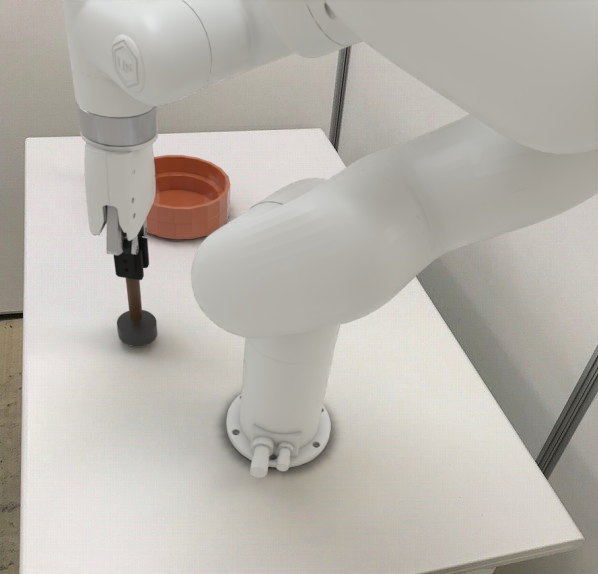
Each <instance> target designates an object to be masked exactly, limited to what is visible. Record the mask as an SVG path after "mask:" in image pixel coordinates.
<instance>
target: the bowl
mask: <svg viewBox="0 0 598 574" xmlns="http://www.w3.org/2000/svg"><path fill="white" fill-rule="evenodd" d="M154 164H155V181H156V191H155V199H154V202H153V204H152V207H151V209H150V211H149V213H148V215H147V234H148V233H149V234H151V235H154V236H155V237H156V236H157V237H159V238H166V239H171V240H172V239H173V240H193V239H197V238H201V237H208V236H209V235H210V234H212V233H213V232H214V231H216V230H217V229H219V228H220V227H222V226H224V225H225V224H227V223H228V219H229V216H230V211H231V209H230V206H231V205H230V204H231V202H230V201H231V182H230V177H229V175H228V174H227V173H226V172H225V171H224V169H223V168H222V167H220V166H219V165H217V164H215V163H213V162H212V161H209V160H206V159H203V158H201V157H196V156H190V155H184V154H164V155H157V156H154Z"/></svg>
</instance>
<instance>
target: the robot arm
mask: <svg viewBox="0 0 598 574" xmlns="http://www.w3.org/2000/svg"><path fill="white" fill-rule="evenodd" d="M61 7H62V14H63V21H64V27H65V34H66V42H67V49H68V56H69V63H70V69H71V70H70V71H71V76H72V77H71V78H72V84H73V85H72V86H73V91H74V98H75V104H76V111H77V117H78V118H77V119H78V125H79V134H80V137H81V140H83V141H84V142H85V144H84V158H83V159H84V187H85V198H86V199H85V201H86V209H87V218H88V227H89V232H90V233H91V235H92V236H100V235H101V234H102V232H103V231H104V228H105V227H106V250H105V251H106V255H112V256H113V262H114V270H115V276H117V277H118V278H122V279H126V278H129V279H136V280H140V281H142V280H143V279H144V276H145V273H144V269H148V267H150V266H149V265H150V257H149V255H150V254H149V243H148V242H149V241H148V237H147V234H148V232H147V215H148V213H149V211H150V209H151V207H152V204H153V202H154V199H155V191H156V181H155V164H154V157H155V155H154V146H153V144H154V143H156V141H157V140H158V138H159V127H158V125H159V124H158V108H157V107H162V106H163V107H164V106H168V105H170V104H173V103H175V102H178V101H180V100H182V99H185V98H187V97H190V96H191V95H194V94H196V93H199V92H201V91H204V90H206V89H208V88H209V87H213V86H215V85H218V84H219V83H222V82H225V81H228V80H230V79H233V78H235V77H237V76H240V75H242V74H244V73H247V72H249V71H253V70H255V69H257V68H260V67H262V66H265V65H268V64H271V63H274V62H276V61H278V60H282V59H284V58H287V57H289V56H290V57H291V56H293V55H298V56H300V57H303V58H306V59H318V58H322V57H324V56H326V55H329V54H333V53H334V52H337V51H341V50H343V49H347V48H348V47H349V48H350V47H352V46H354V45H357V44H360V43H365V44H366V45H367V46H369V47H370V48H372V49H373V50H374V51H376V53H378V54H380V55H381V56H382V57H384V58H385V59H387V60H388V61H389V62H391V63H392V64H394V66H396V67H398V68H399V69H401V70H402V71H404V72H405V73H407V74H408V75H410V76H411V77H413V78H414V79H416V80H418V81H419V82H420V83H422V84H424V85H425V86H426V87H428V88H430V89H431V90H432V91H434V92H436V93H437V94H438V95H440V96H442V97H444V98H445V99H446V100H448V101H449V102H451V103H453V104H454V105H455V106H457V107H458V108H460V109H461V110H463V111H465V112H466V113H468V114H467V115H465V116H463V117H461V118H459V119H457V120H455V121H452V122H449V123H447V124H445V125H442V126H440V127H437V128H435V129H433V130H430V131H428V132H425V133H423V134H420V135H418V136H416V137H413V138H411V139H408V140H405V141H402V142H400V143H397V144H394V145H391V146H388V147H385V148H381V149H379V150H376V151H373V152H371V153H369V154H367V155H364V156H362V157H361V158H358V159H357V160H355V161H354V162H352V163H351V164H349V165H347V166H346V167H344V168H343V169H341V170H340V171H338V172H337V173H335V174H334V175H332V176H331V177H329V178H323V177H309V178H304V179H299V180H297V181H294V182H291V183H289V184H287V185H284V186H283V187H281V188H278V190H276V191H274V192H273V193H271V194H270V195H268V196H266V197H265V198H263V199H261V200H260V201H259V202H257V203H256V204H254V205H252V206H251V207H250V208H249V209H247V210H246V211H244V212H243V213H241V214H239V215H238V216H236V217H235V218H233V219H232V220H230V221H229V222H226V223H225V224H224V225H223V226H222V227H220V228H219V229H217V230H216V231H214V232H213V233H211V234H209V235H207V236H206V237H205V239H204V240H203V241H202V242H201V243H200V245H199V246H198V248H197V250H196V252H195V254H194V256H193V258H192V262H191V269H190V283H191V284H190V285H191V289H192V293H193V296H194V299H195V301H196V304H197V305H198V307H199V308H200V310H201V311H202V312H203V314H204V315H205V316H206V317H207V318H208V319H209V321H211V322H212V323H213V324H214V325H216V326H217V327H219V328H220V329H222V330H223V331H226V332H227V333H228V334H229V333H230V334H232V335H234V336H237V337H241V338H244V349H243V350H244V351H243V364H242V365H243V366H242V377H241V378H242V380H241V392H240V393H239V394H238V395H237V396H236V397H235V398H234V400H232V402H231V404H230V406H229V408H228V410H227V413H226V422H225V426H226V433H227V436H228V439H229V441H230V443H231V444H232V446H233V447H234V448H235V450H237V451H238V452H239V454H240V455H242V456H243V457H245V458H247V459H248V460H249V461H250V468H249V474H250V476H252V477H254V478H256V479H264V478H266V477H267V476H268V472H269V468H275V469H276V470H278V471H279V472H287V471H288V470H290V469H289V468H294V467H299V466H302V465H304V464H307V463H309V462H311V461H312V460H314V459H315V458H317V457H318V456H319V455H320V454H321V453H322V452H323V451H324V449H325V448H326V446H327V445H328V442H329V440H330V435H331V430H332V425H331V422H332V421H331V419H330V414H329V413H328V412H329V411H328V410H327V409H326V406H325V405H324V401H325V396H326V391H327V386H328V383H329V378H330V374H331V373H330V372H331V367H332V363H333V358H334V355H335V349H336V344H337V342H338V337H339V332H340V328H341V325H344V324H349V323H352V322H354V321H357V320H360V319H362V318H364V317H366V316H368V315H370V314H372V313H374V312H376V311H378V310H379V309H381V308H382V307H383V306H385V305H387V304H388V303H389V302H391V300H392V299H394V298H395V297H396V296H397V295H398V294H400V292H401V291H403V290H404V289H405V288H406V287H407V286H408V285H409V284H410V283H411V282H412V281H413V280H414V279H415V278H416V277H417V276H418V275H419V274H420V273H421V272H422V271H423V270H424V269H426V268H427V267H428V266H429V265H430V264H432V263H433V262H434V261H435V260H437V259H438V258H440V257H441V256H443V255H445V254H448V253H450V252H452V251H455V250H457V249H458V250H459V249H461V248H463V247H466V246H469V245H473V244H476V243H480V242H483V241H487V240H490V239H491V240H492V239H494V238H496V237H500V236H502V235H505V234H508V233H511V232H514V231H517V230H520V229H523V228H527V227H530V226H533V225H535V224H538V223H541V222H544V221H546V220H549V219H552V218H554V217H556V216H559V215H562V214H563V213H565V212H567V211H570V210H571V209H573V208H575V207H577V206H579V205H581V204H583V203H584V202H586V201H588V200H590V199H591V198H593V197H594V196H596V195H597V194H598V0H61ZM121 236H126V238H127V239H128V240H126V239H121Z"/></svg>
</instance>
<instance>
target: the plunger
mask: <svg viewBox="0 0 598 574" xmlns="http://www.w3.org/2000/svg"><path fill="white" fill-rule="evenodd" d="M121 239H126V240H128V239H127V238H126V236H121ZM140 281H141V280H136V279H129V278H125V285H126V286H125V287H126V295H127V303H128V304H127V305H128V310H127V311H125V312H123V313H121V314H120V315H119V316H118V318H117V320H116V328H117V335H118V339H119V340H120V342H122V343H123V344H125V345H127V346H129V347H136V348H137V347H139V348H140V347H144V346H147V345H150V344H152V343H153V342H154V341H155V340H156V339H157V336H158V324H157V323H158V321H157V318H156V316H155V315H154V314H152V312H150V311H148V310H144V309H143V306H142V294H141V282H140Z"/></svg>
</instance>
